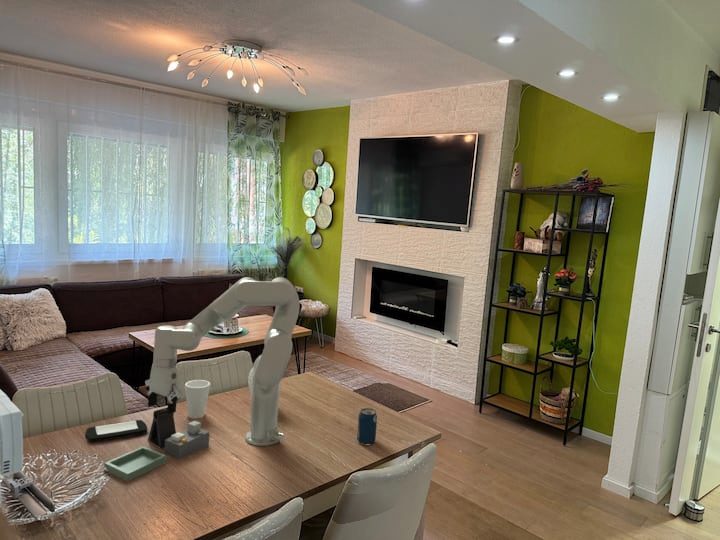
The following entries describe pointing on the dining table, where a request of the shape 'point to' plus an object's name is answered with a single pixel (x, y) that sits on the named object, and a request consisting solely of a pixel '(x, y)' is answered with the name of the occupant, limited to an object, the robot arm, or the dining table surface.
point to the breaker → (194, 427)
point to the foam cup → (197, 397)
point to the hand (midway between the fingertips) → (161, 409)
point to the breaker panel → (187, 444)
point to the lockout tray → (135, 463)
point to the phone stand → (161, 427)
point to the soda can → (367, 426)
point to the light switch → (116, 430)
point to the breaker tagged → (177, 437)
